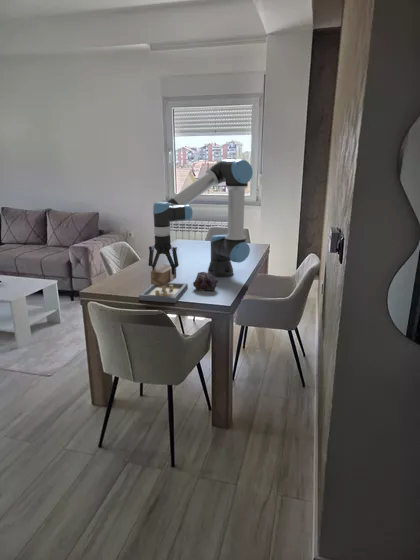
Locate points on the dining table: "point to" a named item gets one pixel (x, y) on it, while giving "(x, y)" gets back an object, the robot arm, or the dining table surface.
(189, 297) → the dining table surface
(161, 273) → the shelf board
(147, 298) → the grey shallow tray
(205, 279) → the rock
